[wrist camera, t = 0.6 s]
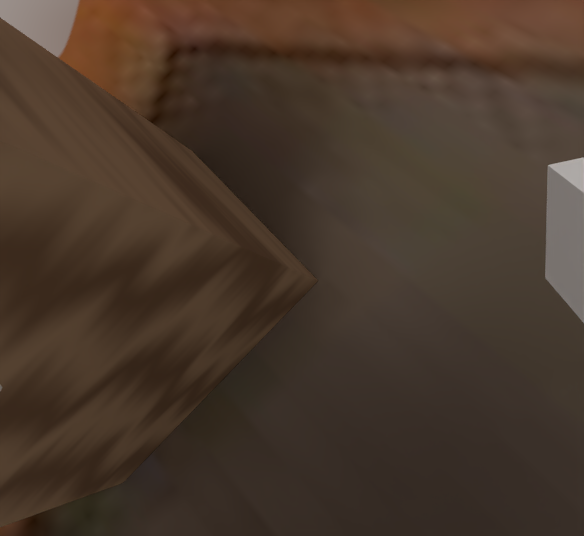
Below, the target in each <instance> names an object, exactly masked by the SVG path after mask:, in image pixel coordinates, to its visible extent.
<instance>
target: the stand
mask: <svg viewBox="0 0 584 536" xmlns="http://www.w3.org/2000/svg"><path fill="white" fill-rule="evenodd" d="M317 281H318V280H317V279H316V278H315V277H314V276H313V275H312V274H311V273H310V272H309V271H308V270H307V269H306V268H305V267H304V266H303V265H302V264H301V262H300V261H299V260H298V259H297V258H296V257H295V256H294V255H293V254H292V253H291V252H290V251H289V250H288V249H287V248H286V247H285V246H284V245H283V244H282V243H281V242H280V241H279V240H278V239H277V238H276V237H275V236H274V235H273V234H272V233H271V232H270V231H269V230H268V229H267V228H266V226H265V225H264V224H263V223H262V222H261V221H260V220H259V219H258V218H257V217H256V216H255V215H254V214H253V213H252V212H251V211H250V210H249V209H248V208H247V207H246V206H245V205H244V204H243V203H242V202H241V201H240V200H239V199H238V198H237V197H236V196H235V195H234V194H233V193H232V192H231V191H230V189H229V188H228V187H227V186H226V185H225V184H224V183H223V182H222V181H221V180H220V179H219V178H218V177H217V176H216V175H215V174H214V173H213V172H212V171H211V170H210V169H209V168H208V167H207V166H206V165H205V164H204V163H203V162H202V161H201V160H200V159H199V158H198V157H197V156H196V155H195V153H194V152H193V151H191V150H190V149H188V148H187V147H186V146H184V145H183V144H181V143H180V142H178V141H177V140H175V139H174V138H173V137H171V136H170V135H168V134H167V133H165V132H164V131H162V130H161V129H160V128H158V127H157V126H155V125H154V124H152V123H151V122H150V121H148V120H147V119H145V118H144V117H142V116H141V115H139V114H138V113H137V112H135V111H134V110H132V109H131V108H129V107H128V106H126V105H125V104H124V103H122V102H121V101H119V100H118V99H116V98H115V97H114V96H112V95H111V94H109V93H108V92H106V91H105V90H103V89H102V88H101V87H99V86H98V85H96V84H95V83H93V82H92V81H91V80H89V79H88V78H86V77H85V76H83V75H82V74H80V73H79V72H78V71H76V70H75V69H73V68H72V67H70V66H69V65H67V64H66V63H65V62H63V61H62V60H60V59H59V58H57V57H56V56H54V55H53V54H51V53H50V52H49V51H47V50H46V49H44V48H43V47H42V46H40V45H39V44H37V43H36V42H34V41H33V40H31V39H30V38H29V37H27V36H26V35H24V34H23V33H21V32H20V31H19V30H17V29H16V28H14V27H13V26H11V25H10V24H8V23H7V22H6V21H4V20H3V19H1V18H0V385H1V386H2V389H1V391H0V527H2V526H5V525H8V524H10V523H13V522H16V521H19V520H22V519H24V518H27V517H30V516H33V515H35V514H38V513H41V512H44V511H47V510H49V509H52V508H55V507H58V506H60V505H63V504H66V503H69V502H72V501H74V500H77V499H80V498H83V497H85V496H88V495H91V494H94V493H97V492H99V491H102V490H105V489H108V488H110V487H113V486H116V485H119V484H122V483H123V482H124V481H125V480H126V479H127V478H128V477H129V476H130V475H131V474H132V473H133V472H134V471H135V470H136V469H137V468H138V467H139V466H140V465H141V464H142V463H143V462H144V461H145V460H146V458H147V457H148V456H149V455H150V454H151V453H152V452H153V451H154V450H155V449H156V448H157V447H158V446H159V445H160V444H161V443H162V442H163V441H164V440H165V439H166V438H167V437H168V436H169V435H170V434H171V433H172V432H173V431H174V429H175V428H176V427H177V426H178V425H179V424H180V423H181V422H182V421H183V420H184V419H185V418H186V417H187V416H188V415H189V414H190V413H191V412H192V411H193V410H194V409H195V408H196V407H197V406H198V405H199V404H200V403H201V402H202V400H203V399H204V398H205V397H206V396H207V395H208V394H209V393H210V392H211V391H212V390H213V389H214V388H215V387H216V386H217V385H218V384H219V383H220V382H221V381H222V380H223V379H224V378H225V377H226V376H227V375H228V374H229V373H230V371H231V370H232V369H233V368H234V367H235V366H236V365H237V364H238V363H239V362H240V361H241V360H242V359H243V358H244V357H245V356H246V355H247V354H248V353H249V352H250V351H251V350H252V349H253V348H254V347H255V346H256V345H257V344H258V342H259V341H260V340H261V339H262V338H263V337H264V336H265V335H266V334H267V333H268V332H269V331H270V330H271V329H272V328H273V327H274V326H275V325H276V324H277V323H278V322H279V321H280V320H281V319H282V318H283V317H284V316H285V315H286V314H287V312H288V311H289V310H290V309H291V308H292V307H293V306H294V305H295V304H296V303H297V302H298V301H299V300H300V299H301V298H302V297H303V296H304V295H305V294H306V293H307V292H308V291H309V290H310V289H311V288H312V287H313V286H314V285H315V283H316V282H317Z"/></svg>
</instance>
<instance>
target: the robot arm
mask: <svg viewBox="0 0 584 536" xmlns="http://www.w3.org/2000/svg"><path fill="white" fill-rule="evenodd" d="M545 278H546V279H547V280H548V282H549V283H550V284H551V285H552V286H553V288H554V289H555V290H556V291H557V292H558V293H559V295H560V296H561V297H562V298H563V299H564V300H565V302H566V303H567V304H568V305H569V306H570V307H571V309H572V310H573V311H574V312H575V313H576V314H577V316H578V317H579V318H580V319H581V320H582V321H583V323H584V158H579V159H574V160H570V161H565V162H560V163H556V164H551V165H548V179H547V223H546V266H545ZM1 389H2V386H1V385H0V391H1Z"/></svg>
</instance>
